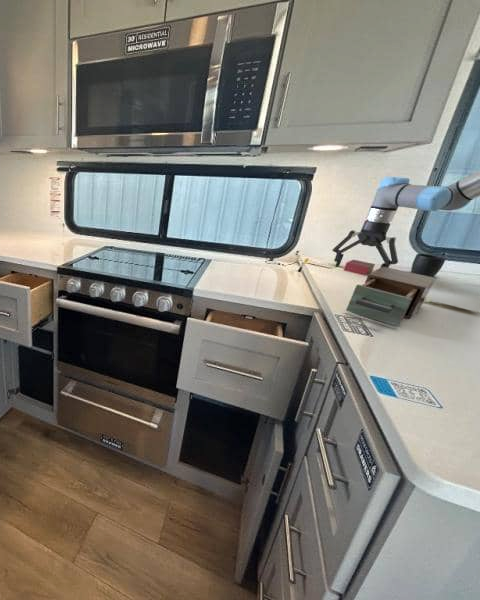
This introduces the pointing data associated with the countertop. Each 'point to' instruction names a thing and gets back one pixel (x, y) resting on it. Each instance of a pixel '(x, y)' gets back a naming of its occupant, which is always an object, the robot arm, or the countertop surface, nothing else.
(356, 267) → the red rectangular block
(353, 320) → the countertop surface
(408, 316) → the cabinet
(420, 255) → the mug
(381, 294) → the drawer
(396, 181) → the robot arm
